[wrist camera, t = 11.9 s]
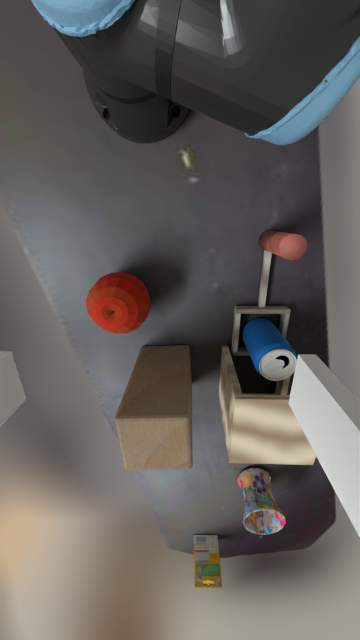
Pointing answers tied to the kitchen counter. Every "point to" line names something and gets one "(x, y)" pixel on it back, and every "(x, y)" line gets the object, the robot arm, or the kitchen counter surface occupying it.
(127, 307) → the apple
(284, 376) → the beverage can
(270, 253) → the square frame pulling tool
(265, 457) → the open wooden box
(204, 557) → the crayon box
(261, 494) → the mug
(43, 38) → the kitchen counter surface
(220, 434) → the kitchen counter surface
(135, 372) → the wooden block
